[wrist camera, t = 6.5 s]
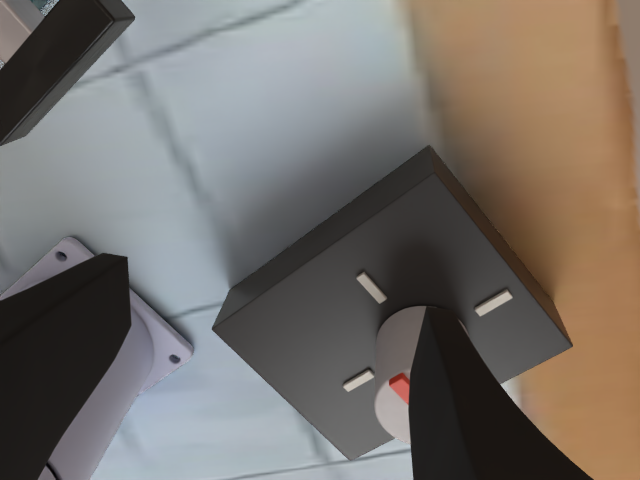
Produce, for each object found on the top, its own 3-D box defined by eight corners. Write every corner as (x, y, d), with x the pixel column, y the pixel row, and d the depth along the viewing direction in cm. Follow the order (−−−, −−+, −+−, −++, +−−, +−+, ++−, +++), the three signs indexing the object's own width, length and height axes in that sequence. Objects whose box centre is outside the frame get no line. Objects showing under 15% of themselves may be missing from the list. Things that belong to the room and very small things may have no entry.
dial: (487, 351, 22) (505, 425, 19) (413, 392, 24) (416, 469, 20) (432, 288, 21) (441, 354, 18) (357, 335, 23) (351, 405, 19)
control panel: (359, 419, 29) (355, 469, 26) (229, 290, 26) (209, 331, 23) (559, 309, 25) (580, 356, 22) (429, 144, 22) (435, 173, 19)
